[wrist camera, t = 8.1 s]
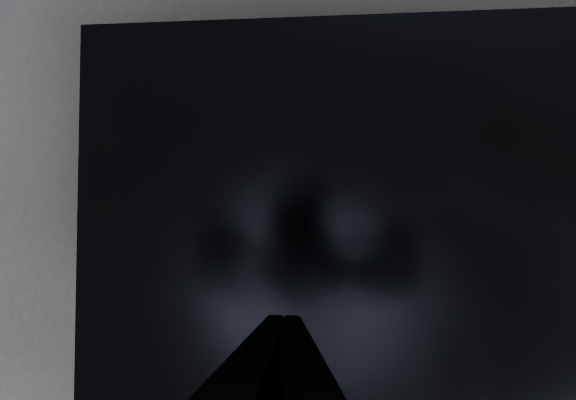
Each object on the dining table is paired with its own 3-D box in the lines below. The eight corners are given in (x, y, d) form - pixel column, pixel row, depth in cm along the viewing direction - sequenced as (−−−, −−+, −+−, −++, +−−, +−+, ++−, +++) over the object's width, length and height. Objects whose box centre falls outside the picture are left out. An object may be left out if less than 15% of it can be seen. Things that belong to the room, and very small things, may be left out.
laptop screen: (666, 430, 15) (686, 443, 14) (84, 399, 17) (73, 408, 16) (660, 13, 15) (679, 2, 14) (91, 32, 17) (80, 24, 17)
